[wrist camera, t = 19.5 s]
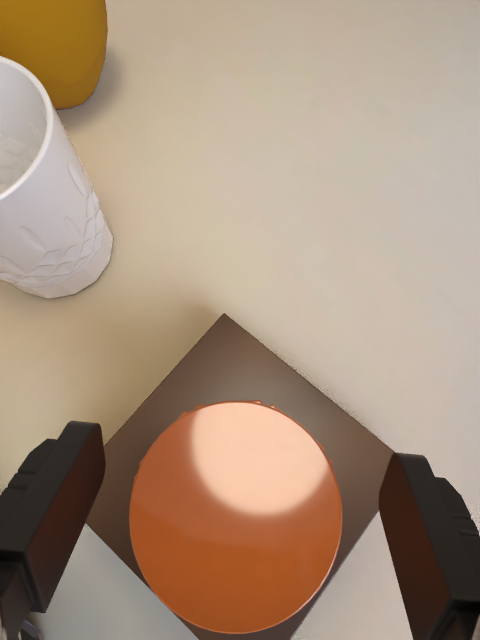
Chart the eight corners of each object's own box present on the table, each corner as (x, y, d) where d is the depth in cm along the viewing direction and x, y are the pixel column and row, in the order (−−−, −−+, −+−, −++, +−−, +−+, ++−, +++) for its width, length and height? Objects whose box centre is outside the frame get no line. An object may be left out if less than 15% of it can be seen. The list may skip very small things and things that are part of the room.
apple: (122, 34, 30) (77, -125, 22) (133, 126, 28) (86, -12, 19) (6, 49, 30) (-87, -108, 21) (6, 143, 27) (-99, 9, 19)
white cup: (-18, 218, 26) (-172, 85, 16) (101, 177, 26) (23, 28, 17) (12, 328, 23) (-144, 251, 14) (140, 279, 24) (77, 175, 15)
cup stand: (395, 462, 21) (482, 475, 14) (251, 669, 19) (260, 827, 11) (225, 322, 24) (218, 266, 16) (75, 490, 21) (-20, 520, 13)
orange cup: (327, 473, 19) (385, 495, 12) (244, 585, 18) (249, 693, 10) (230, 389, 21) (225, 359, 13) (145, 489, 19) (83, 522, 12)
